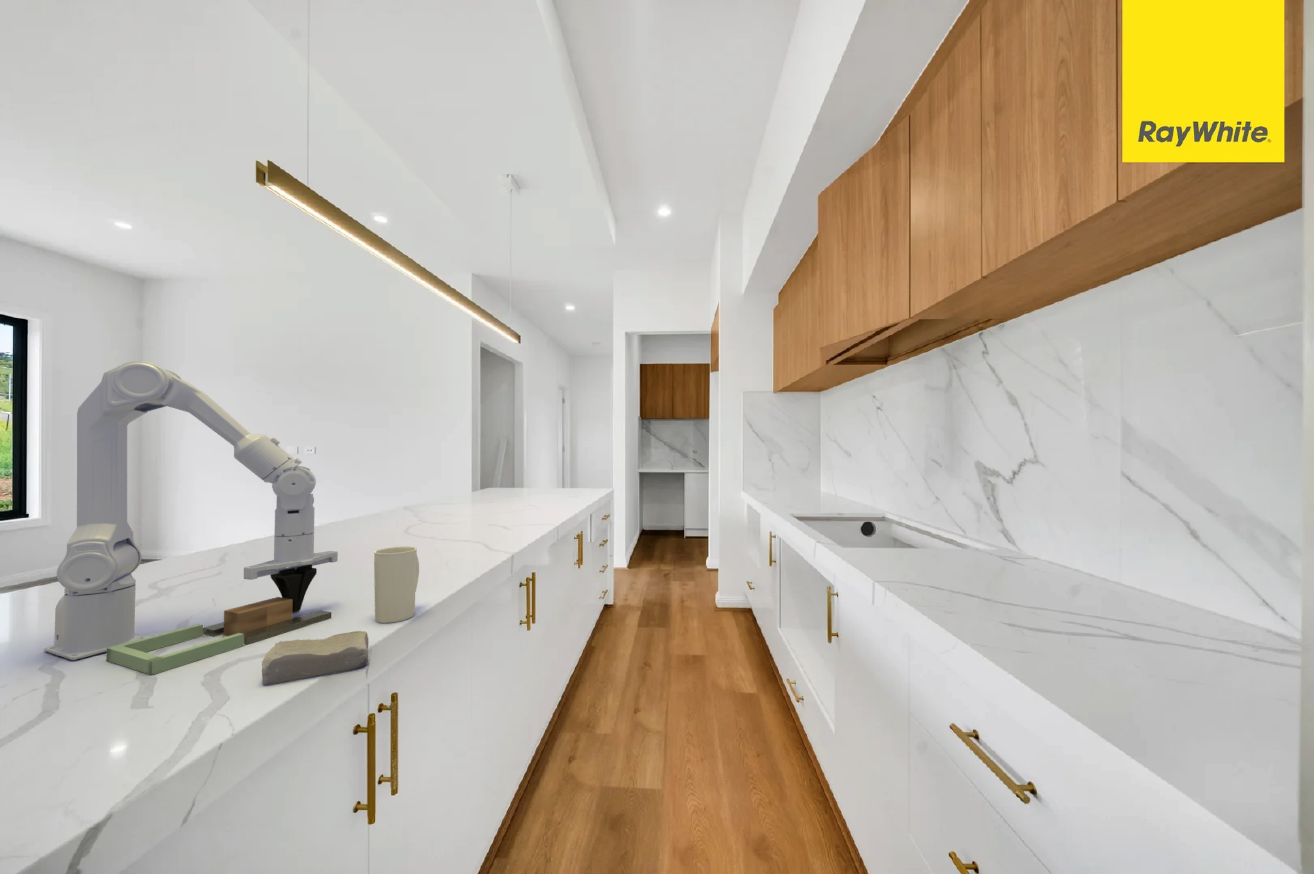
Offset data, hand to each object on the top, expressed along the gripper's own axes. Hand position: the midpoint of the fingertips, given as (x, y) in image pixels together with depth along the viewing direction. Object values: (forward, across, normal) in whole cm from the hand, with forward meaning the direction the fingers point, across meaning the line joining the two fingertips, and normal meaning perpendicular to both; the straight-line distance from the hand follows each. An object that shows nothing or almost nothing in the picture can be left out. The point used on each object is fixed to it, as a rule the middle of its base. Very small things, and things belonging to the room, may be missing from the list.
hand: (293, 610), depth 87 cm
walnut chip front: (+1, -7, 0) cm, 7 cm away
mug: (+2, +9, -16) cm, 18 cm away
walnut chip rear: (+1, -3, 0) cm, 4 cm away
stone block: (+2, -10, -23) cm, 26 cm away
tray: (+1, -16, 0) cm, 16 cm away
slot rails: (+1, -4, 0) cm, 4 cm away
